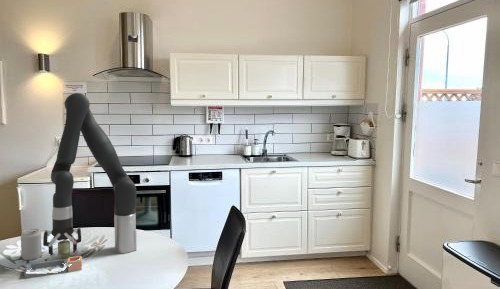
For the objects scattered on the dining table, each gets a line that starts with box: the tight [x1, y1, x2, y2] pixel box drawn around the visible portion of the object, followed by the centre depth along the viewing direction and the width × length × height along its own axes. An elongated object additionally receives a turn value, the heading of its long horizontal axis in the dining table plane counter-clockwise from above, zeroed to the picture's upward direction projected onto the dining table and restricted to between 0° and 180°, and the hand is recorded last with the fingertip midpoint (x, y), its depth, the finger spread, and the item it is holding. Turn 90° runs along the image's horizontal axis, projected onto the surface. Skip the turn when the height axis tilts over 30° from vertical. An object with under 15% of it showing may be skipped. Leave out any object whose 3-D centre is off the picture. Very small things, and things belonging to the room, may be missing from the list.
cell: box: [57, 239, 71, 260], centre depth 151 cm, size 4×4×9 cm
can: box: [20, 228, 43, 261], centre depth 153 cm, size 8×8×12 cm
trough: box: [24, 259, 68, 279], centre depth 142 cm, size 14×9×2 cm, turn 114°
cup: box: [67, 255, 83, 273], centre depth 144 cm, size 5×5×4 cm
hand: (62, 253), depth 151 cm, fingers open, 8 cm apart
